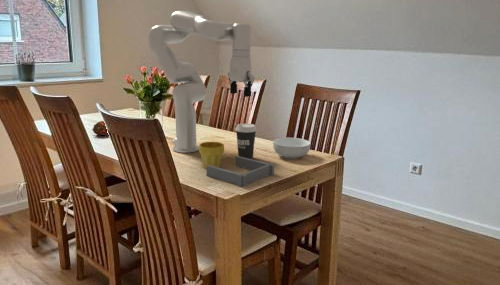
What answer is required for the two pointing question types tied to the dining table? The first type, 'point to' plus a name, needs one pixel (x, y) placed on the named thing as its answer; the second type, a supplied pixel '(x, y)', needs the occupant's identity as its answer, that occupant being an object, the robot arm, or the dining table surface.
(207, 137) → the dining table surface
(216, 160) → the plant pot
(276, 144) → the cereal bowl
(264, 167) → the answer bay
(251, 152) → the coffee cup
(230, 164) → the dining table surface
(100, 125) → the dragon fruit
